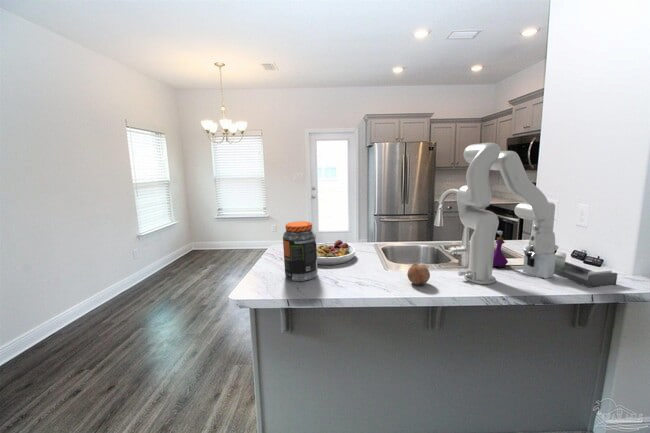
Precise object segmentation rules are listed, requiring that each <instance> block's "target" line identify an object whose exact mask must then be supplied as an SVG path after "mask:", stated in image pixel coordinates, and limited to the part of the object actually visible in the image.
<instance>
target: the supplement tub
mask: <svg viewBox="0 0 650 433" xmlns="http://www.w3.org/2000/svg"><path fill="white" fill-rule="evenodd" d="M284 228H285V231H284V233H283V234H282V245H283V246H282V247H283V248H282V249H283V257H284V259H283V260H284V275H285V277H286V278H287V279H288V280H289V281H294V282H301V281H302V282H303V281H309V280H313V279H314V278H316V276H317V275H318V264H317V246H316V244H317V234H316V232H315V230H313V229H314V228H313V224H312V222H311V221H305V220H304V221H302V220H301V221H291V222H287V223H286V224H285V227H284Z"/></svg>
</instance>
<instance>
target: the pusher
mask: <svg viewBox="0 0 650 433" xmlns="http://www.w3.org/2000/svg"><path fill="white" fill-rule="evenodd" d="M605 273H613V270H611V269H603V270H601V269H600V270H592V271H590V272H588V277H589V275H595V274H605ZM587 280H588V279H587Z"/></svg>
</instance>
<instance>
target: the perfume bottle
mask: <svg viewBox="0 0 650 433" xmlns="http://www.w3.org/2000/svg"><path fill="white" fill-rule="evenodd" d="M503 232H504V231H502V230H497V231H496V234H497V235H499V237H496V239H495V242H494V243H496V248H495V249H494V256H493V267H494V266H498V267H497V268H504V266H506V265H507V264H508V263H509V260H508V259H507V258H506V257H505V255H504V254H503V252H502V246H503V244H505V241H504V240H505V239H504V237H502V235H503Z"/></svg>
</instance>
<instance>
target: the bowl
mask: <svg viewBox="0 0 650 433" xmlns="http://www.w3.org/2000/svg"><path fill="white" fill-rule="evenodd" d="M316 246H317V265H325V266H329V265H331V266H332V265H339V264H343V263H347V262H349V261H350V260H352V259H353V258H354V256H355V255H356V249H355V247H354V246H352V245H351V244H348V243H347V242H343V241H342V240H341V239H337V240H336V241H335V242H321V243H316Z"/></svg>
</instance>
